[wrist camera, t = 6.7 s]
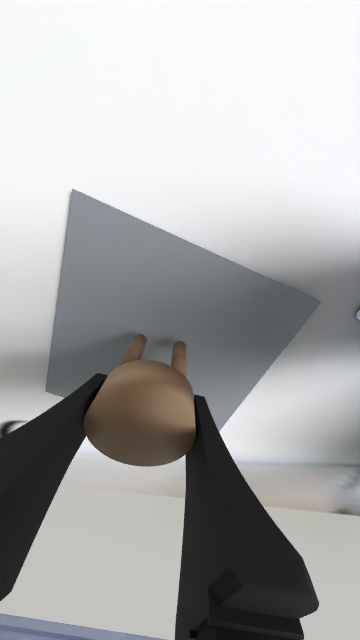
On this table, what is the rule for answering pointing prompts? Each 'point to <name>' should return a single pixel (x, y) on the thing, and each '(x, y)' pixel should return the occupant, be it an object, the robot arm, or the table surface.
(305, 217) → the table surface
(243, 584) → the robot arm
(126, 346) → the mat
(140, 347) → the stool
